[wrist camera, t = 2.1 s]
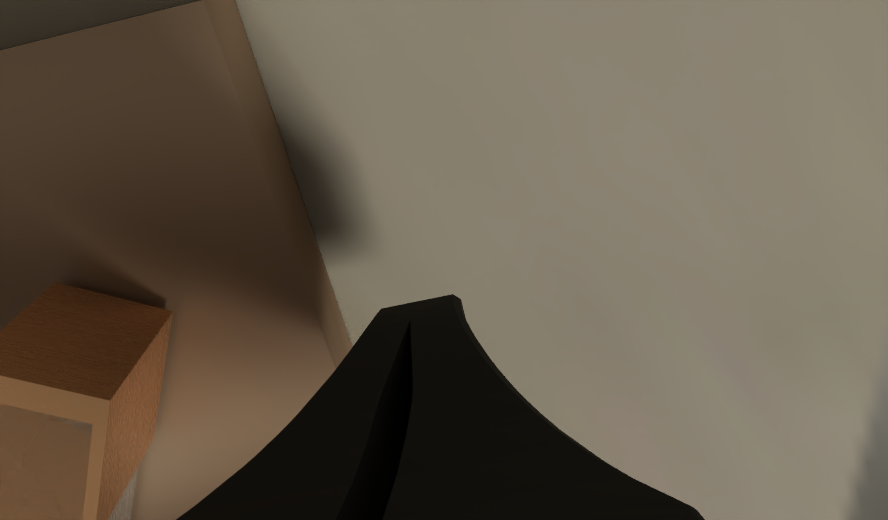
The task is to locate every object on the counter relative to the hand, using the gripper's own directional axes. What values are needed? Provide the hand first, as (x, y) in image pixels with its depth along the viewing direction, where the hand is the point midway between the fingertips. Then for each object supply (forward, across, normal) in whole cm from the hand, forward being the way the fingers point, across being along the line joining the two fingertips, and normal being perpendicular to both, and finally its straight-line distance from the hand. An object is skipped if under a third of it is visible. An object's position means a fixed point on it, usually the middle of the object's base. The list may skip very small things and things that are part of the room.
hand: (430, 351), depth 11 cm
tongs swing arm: (+1, +9, +4) cm, 9 cm away
